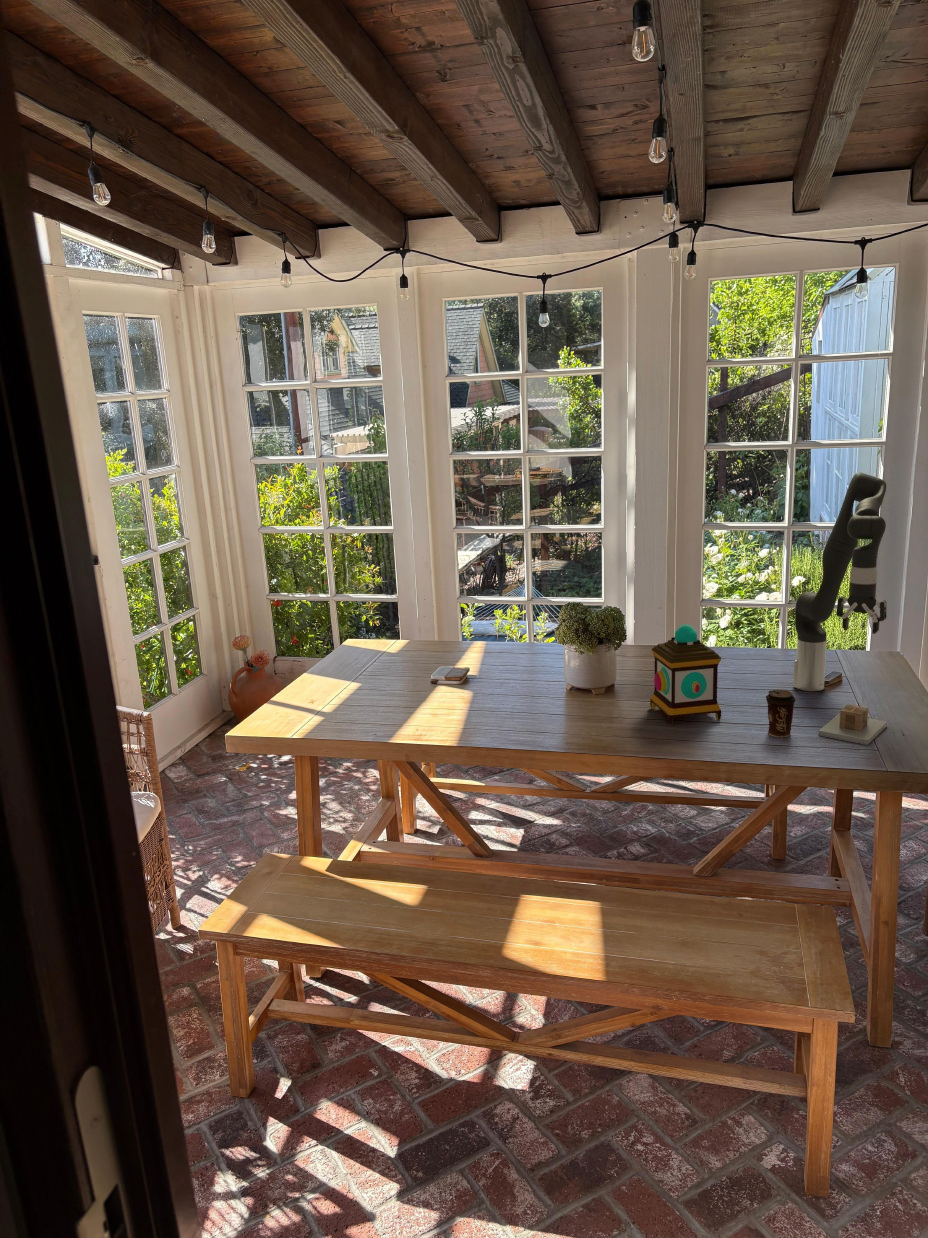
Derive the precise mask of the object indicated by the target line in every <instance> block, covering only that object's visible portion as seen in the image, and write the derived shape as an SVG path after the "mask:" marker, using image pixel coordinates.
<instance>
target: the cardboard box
mask: <svg viewBox="0 0 928 1238" xmlns="http://www.w3.org/2000/svg"><path fill="white" fill-rule="evenodd" d="M839 713H840V724H839V728H844V729H849V730H855V731H861V730H862V729H863V728H864V727H866V726H867V721H868V717H869V707H865V706H860V705H854V704H846V705H845V706H844V707H843V708H842V709H840V711H839Z"/></svg>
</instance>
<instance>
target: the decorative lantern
mask: <svg viewBox="0 0 928 1238" xmlns="http://www.w3.org/2000/svg"><path fill="white" fill-rule="evenodd" d="M651 652H652V655H653V657H654V679H653V682H654V691H653V693H652V695H651V697H650V700H649V702H650V703H649V704H650V709H652V710H654V709H656V707H657V708H658V709H659V710H660V711H662V713H663V714H665V715H666V716H667V723H668V725H669V726H673V723H674V719H675V718H679V717H689V716H697V715H699V716H700V715H709V714H715V719H716V721H720V720H721V719H722V710H721V707H720V705H719V702H718V676H719V675H718V668H719V664H720V663H721V660H722V656H720V655H719V653H717V652H716V651H715V650H713V649H712V648H710V647H709V646H708V645H706V644H704V643H702V642H701V640H699V639H698V633H697V630H696V629H694V628H693V627H692V626H691V625H689V624H683V625H681V626H679V627H678V628H677V629H676V630H675V632H674V637H671V638H670V639H669V640H667V641H665V642H664V643H658V644H657V645H655V646H653V647H652V648H651Z"/></svg>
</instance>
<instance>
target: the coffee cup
mask: <svg viewBox="0 0 928 1238" xmlns="http://www.w3.org/2000/svg"><path fill="white" fill-rule="evenodd" d="M765 698H766V699H765V700H766V702H767V719H768V730H767V733H768V735H769V734H770V735H769V736H771V737H773V736H774V737H773V738H779V737H782V738H783V737H785V738H788V737H789V736H790V735H791V730H792V725H793V718H794V710H795V702H796V698H795V696H794V693H793V692H792V691H790V690H787V689H772V690H768V694H767V695H766V696H765ZM782 738H781V739H782ZM783 739H784V738H783Z"/></svg>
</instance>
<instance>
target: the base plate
mask: <svg viewBox="0 0 928 1238" xmlns="http://www.w3.org/2000/svg"><path fill="white" fill-rule="evenodd" d="M839 724H840V712H839V713H837V714H836V716H835V717H833V718H832V719H831V720H829V722H827V723H826V724H824V726H822V727H821V728H820V729H819V730H818V736H820V737H826V738H830V739H836V740H840V741H845V742H849V743H850V742H851V743H856V744H859V743H860V745H865V746H868V745H869V744H871V742H873V740H874V739H876V738H877V737H878V735H879V734H880V733H881V732H883V730H885V729H886V728H887V724H888V722H887V721H885V720H880V719H879V720H878V719H874V718H870V717H869V718H868V721H867V726H866V727H864V728H863V729H862V730H861V731H855V730H849V729H844V728H839Z"/></svg>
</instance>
